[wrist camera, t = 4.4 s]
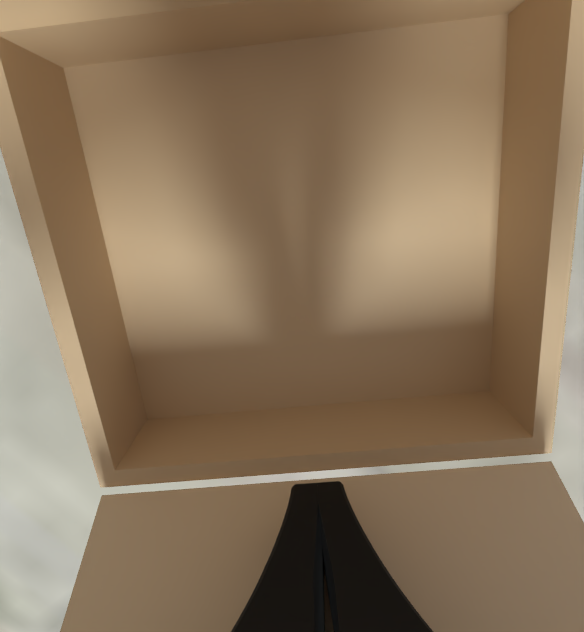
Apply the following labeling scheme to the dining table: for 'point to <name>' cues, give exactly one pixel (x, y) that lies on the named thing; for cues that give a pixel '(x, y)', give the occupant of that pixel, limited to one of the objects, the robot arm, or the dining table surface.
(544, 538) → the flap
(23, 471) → the dining table surface
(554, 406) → the carton
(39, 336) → the dining table surface
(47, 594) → the dining table surface
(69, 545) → the dining table surface
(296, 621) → the robot arm
